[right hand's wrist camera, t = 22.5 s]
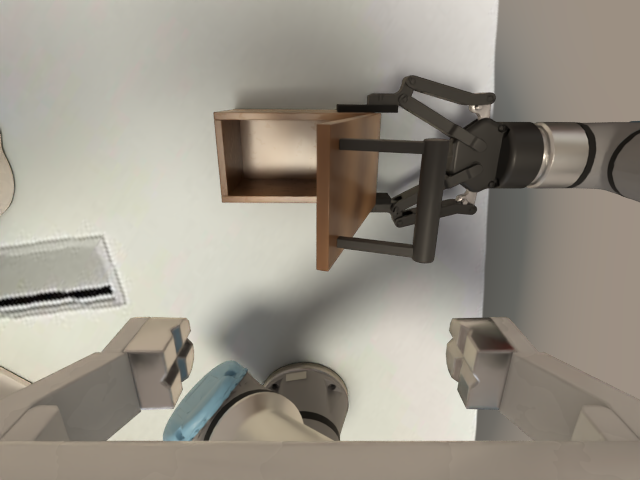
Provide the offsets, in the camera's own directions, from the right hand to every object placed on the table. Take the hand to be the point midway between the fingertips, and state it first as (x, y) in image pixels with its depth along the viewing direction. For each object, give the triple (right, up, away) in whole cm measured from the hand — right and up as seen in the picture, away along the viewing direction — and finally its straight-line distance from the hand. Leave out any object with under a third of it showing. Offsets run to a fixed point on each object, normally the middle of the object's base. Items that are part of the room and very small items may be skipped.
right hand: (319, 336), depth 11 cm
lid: (+3, +8, +21) cm, 22 cm away
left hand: (+2, +13, +32) cm, 34 cm away
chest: (-3, +15, +38) cm, 41 cm away
